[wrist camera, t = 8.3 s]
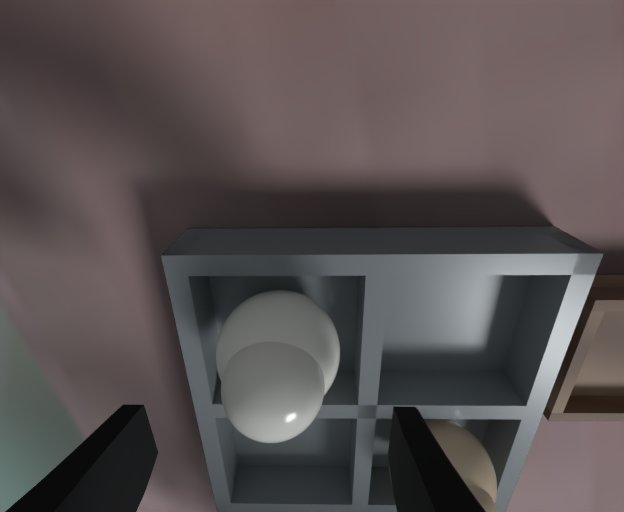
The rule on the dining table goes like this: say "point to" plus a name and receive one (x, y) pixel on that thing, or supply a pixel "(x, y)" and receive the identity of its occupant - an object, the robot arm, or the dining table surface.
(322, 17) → the dining table surface
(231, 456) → the egg tray
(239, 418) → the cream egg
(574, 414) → the brown square tray
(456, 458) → the brown egg
